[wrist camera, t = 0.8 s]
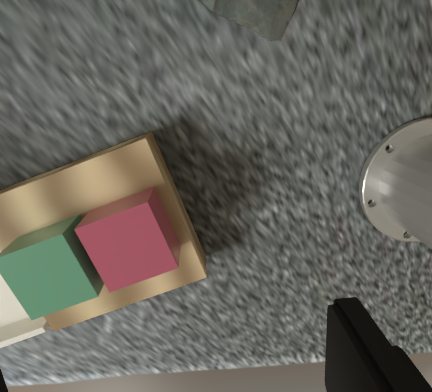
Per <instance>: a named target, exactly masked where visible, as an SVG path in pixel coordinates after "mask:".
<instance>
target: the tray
mask: <svg viewBox="0 0 432 392" xmlns="http://www.w3.org/2000/svg"><path fill="white" fill-rule="evenodd" d="M0 252H1V251H0ZM48 327H49V324H48V323H47V321H46V320H45V318H44V317H40V318H37V319H34V320H31V319H30V317H29V316H28V314H27V313H26V311H25V310H24V308H23V307H22V306H21V304H20V303H19V301H18V300H17V298H16V297H15V295H14V294H13V292H12V291H11V289H10V288H9V286H8V285H7V283H6V282H5V280H4V279H3V277H2V276H1V274H0V348H1V347H4V346H7V345H10V344H13V343H16V342H18V341H21V340H24V339H27V338H30V337H33V336H35V335H38V334H41V333H44V332H46V331H47V329H48Z"/></svg>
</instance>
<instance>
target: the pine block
mask: <svg viewBox="0 0 432 392" xmlns="http://www.w3.org/2000/svg"><path fill="white" fill-rule="evenodd" d="M151 187H155V189H156V192H157V194H158V196H159V198H160V200H161V203H162V205H163V207H164V209H165V211H166V214H167V216H168V218H169V220H170V222H171V225H172V227H173V229H174V231H175V233H176V236H177V238H178V240H179V242H180V244H181V249H180V258H179V268H177V269H175V270H172V271H169V272H166V273H163V274H161V275H158V276H155V277H152V278H149V279H147V280H144V281H141V282H138V283H135V284H133V285H130V286H127V287H124V288H121V289H118V290H116V291H113V292H110V293H109V291H108V289H107V287H106V285H105V284H104V285H103V288H102V290H101V292H100V294H99V296H98V297H96V298H93V299H90V300H88V301H85V302H82V303H79V304H76V305H74V306H71V307H68V308H65V309H62V310H60V311H57V312H54V313H51V314H48V315H46V316H43V317H44V318H45V320H46V321H47V323H48V324H49V326H50V327H51V329H52V330H53V331H56V330H59V329H62V328H64V327H67V326H70V325H73V324H76V323H79V322H81V321H84V320H87V319H90V318H93V317H96V316H98V315H101V314H104V313H107V312H110V311H113V310H116V309H118V308H121V307H124V306H127V305H130V304H133V303H135V302H138V301H141V300H144V299H147V298H150V297H152V296H155V295H158V294H161V293H164V292H167V291H169V290H172V289H175V288H178V287H181V286H184V285H186V284H189V283H192V282H195V281H198V280H201V279H203V278H206V277H207V269H206V256H205V253H204V251H203V249H202V246H201V244H200V242H199V239H198V237H197V235H196V233H195V230H194V228H193V226H192V223H191V221H190V219H189V216H188V214H187V212H186V209H185V207H184V205H183V202H182V200H181V198H180V195H179V193H178V191H177V189H176V186H175V184H174V182H173V179H172V177H171V175H170V172H169V170H168V168H167V165H166V163H165V161H164V158H163V156H162V154H161V152H160V149H159V147H158V145H157V142H156V140H155V138H154V135H153V133H152V131H151V132H149V133H146V134H144V135H141V136H138V137H136V138H133V139H131V140H128V141H125V142H123V143H120V144H118V145H115V146H113V147H110V148H107V149H105V150H102V151H100V152H97V153H94V154H92V155H89V156H87V157H84V158H82V159H79V160H76V161H74V162H71V163H69V164H66V165H64V166H61V167H58V168H56V169H53V170H51V171H48V172H45V173H43V174H40V175H38V176H35V177H33V178H30V179H27V180H25V181H22V182H20V183H17V184H14V185H12V186H9V187H7V188H4V189H2V190H0V251H2V250H4V249H5V248H6V247H7V246H8V245H9V244H11V243H12V242H13V241H14V240H15V239H16V238H18V237H20V236H23V235H26V234H28V233H31V232H34V231H36V230H39V229H42V228H44V227H47V226H50V225H52V224H55V223H58V222H60V221H63V220H66V219H68V218H71V217H74V216H76V215H80V216H81V218H82V219H83V218H84V217H85V216H86V214H87V213H88V212H89V211H90V210H92V209H95V208H98V207H100V206H103V205H106V204H108V203H111V202H114V201H116V200H119V199H122V198H124V197H127V196H130V195H132V194H135V193H138V192H140V191H143V190H146V189H148V188H151Z"/></svg>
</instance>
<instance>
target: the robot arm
mask: <svg viewBox="0 0 432 392" xmlns="http://www.w3.org/2000/svg"><path fill="white" fill-rule="evenodd" d="M386 146H387V148H386ZM359 199H360V204H361V207H362V209H363V212H364V214H365V216H366V217H367V219H368V220H369V221H370V223H371V224H372V225H373V226H374V227H376V228H377V229H378V230H379V231H381V232H382V233H383V234H385V235H386V236H388V237H391V238H393V239H396V240H400V241H405V242H420V241H421V242H422V243H424V244H425V245H426V246H428V247H429V248H431V249H432V117H427V118H422V119H416V120H414V121H411V122H408V123H405V124H403V125H401V126H400V127H398V128H396V129H395V130H393V131H392V132H390V133H389V134H388V135H387V136H385V137H384V138H383V139H382V140H381V141H380V142H379V143H378V144H377V146H376V147H375V148H374V149H373V150H372V152H371V154H370V155H369V157H368V158H367V160H366V162H365V165H364V167H363V170H362V172H361V177H360V181H359ZM369 200H370V201H369ZM325 385H326V390H327V392H432V388H431V386H430V385H429V384H428V382H427V381H426V380H425V378H424V377H423V376H422V374H421V373H420V372H419V370H418V369H417V368H416V366H415V365H414V364H413V362H412V361H411V360H410V358H409V357H408V356H407V354H406V353H405V352H404V351H403V350H402V349H401V348H400V347H398V346H392V345H391V344H390V343H389V341H388V340H387V338H386V337H385V336H384V334H383V333H382V331H381V330H380V329H379V327H378V326H377V324H376V323H375V322H374V320H373V319H372V317H371V316H370V315H369V313H368V312H367V310H366V309H365V308H364V306H363V305H362V304H361V302H360V301H359V300H358V298H356V297H352V298H340V299H335V300H334V303H333V305H328V309H327V334H326V361H325ZM0 392H8V389H7V387H6V384H5V381H4V378H3V375H2V372H1V369H0Z"/></svg>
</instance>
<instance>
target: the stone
mask: <svg viewBox="0 0 432 392" xmlns="http://www.w3.org/2000/svg"><path fill="white" fill-rule="evenodd" d="M199 1H200V2H201V3H202V4H204V5H205V6H206V7H207V8H208V9H210V10H211V11H213V12H215V13H217V14H218V15H220V16H222V17H225V18H226V19H228V20H234V21H235V22H236V23H238V24H240V25H242V26H245V27H249V28H251V29H253V30H254V31H255V32H256V33H258V34H260V35H261V36H263V37H264V38H266V39H268V40H270V41H272V40H278V41H280V40H281V38H282V36H283V34H284V32H285V30H286V28H287V26H288V24H289V22H290V20H291V18H292V15H293V13H294V10H295V8H296V5H297V0H199Z"/></svg>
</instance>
